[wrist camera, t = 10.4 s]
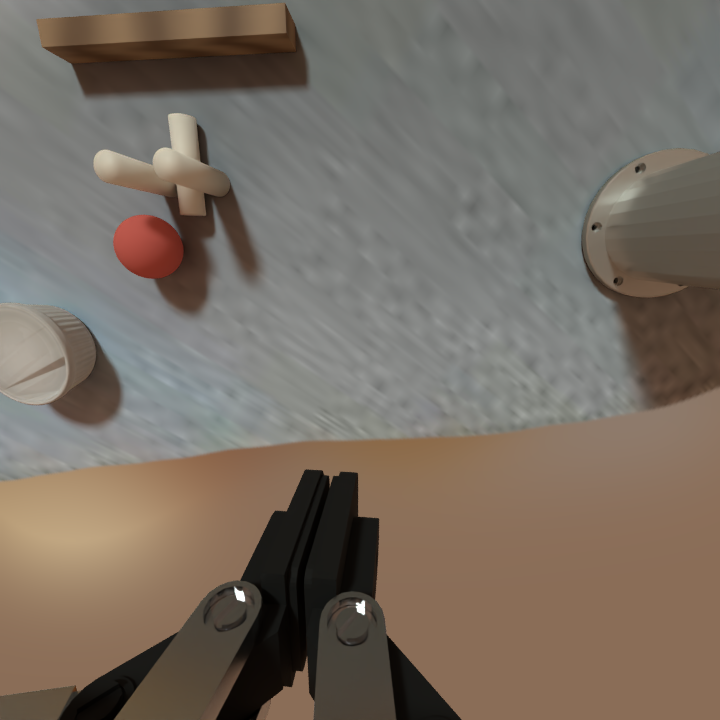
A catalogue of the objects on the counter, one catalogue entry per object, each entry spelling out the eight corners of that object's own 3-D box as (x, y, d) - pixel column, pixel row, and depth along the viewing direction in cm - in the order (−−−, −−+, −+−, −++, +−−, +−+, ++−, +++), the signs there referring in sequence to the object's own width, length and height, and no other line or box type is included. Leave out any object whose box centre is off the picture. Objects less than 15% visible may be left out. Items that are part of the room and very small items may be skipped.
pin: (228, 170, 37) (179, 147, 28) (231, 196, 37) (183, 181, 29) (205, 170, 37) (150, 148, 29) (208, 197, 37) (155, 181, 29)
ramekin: (88, 405, 46) (50, 424, 41) (8, 356, 45) (-41, 370, 40) (119, 332, 43) (82, 343, 38) (33, 279, 42) (-17, 282, 37)
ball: (104, 225, 31) (159, 282, 34) (159, 193, 35) (205, 248, 37) (92, 246, 36) (141, 295, 38) (141, 216, 39) (184, 264, 42)
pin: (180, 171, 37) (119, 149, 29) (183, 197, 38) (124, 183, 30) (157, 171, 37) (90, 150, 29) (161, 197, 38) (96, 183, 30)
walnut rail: (295, 24, 33) (284, 2, 30) (296, 51, 33) (286, 32, 30) (66, 38, 35) (36, 19, 32) (71, 63, 35) (42, 47, 32)
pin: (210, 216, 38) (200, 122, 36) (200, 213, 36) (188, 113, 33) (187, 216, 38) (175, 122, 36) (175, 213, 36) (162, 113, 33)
